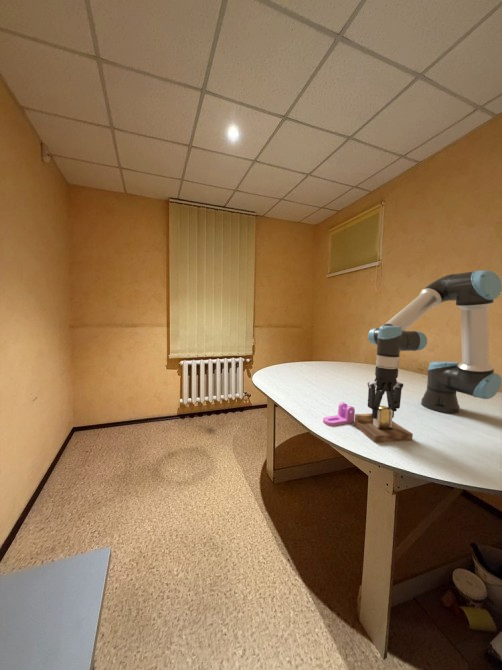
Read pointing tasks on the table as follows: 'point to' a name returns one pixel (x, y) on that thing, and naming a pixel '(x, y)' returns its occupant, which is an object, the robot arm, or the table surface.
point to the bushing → (384, 418)
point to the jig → (392, 434)
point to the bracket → (341, 416)
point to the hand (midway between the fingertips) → (382, 425)
